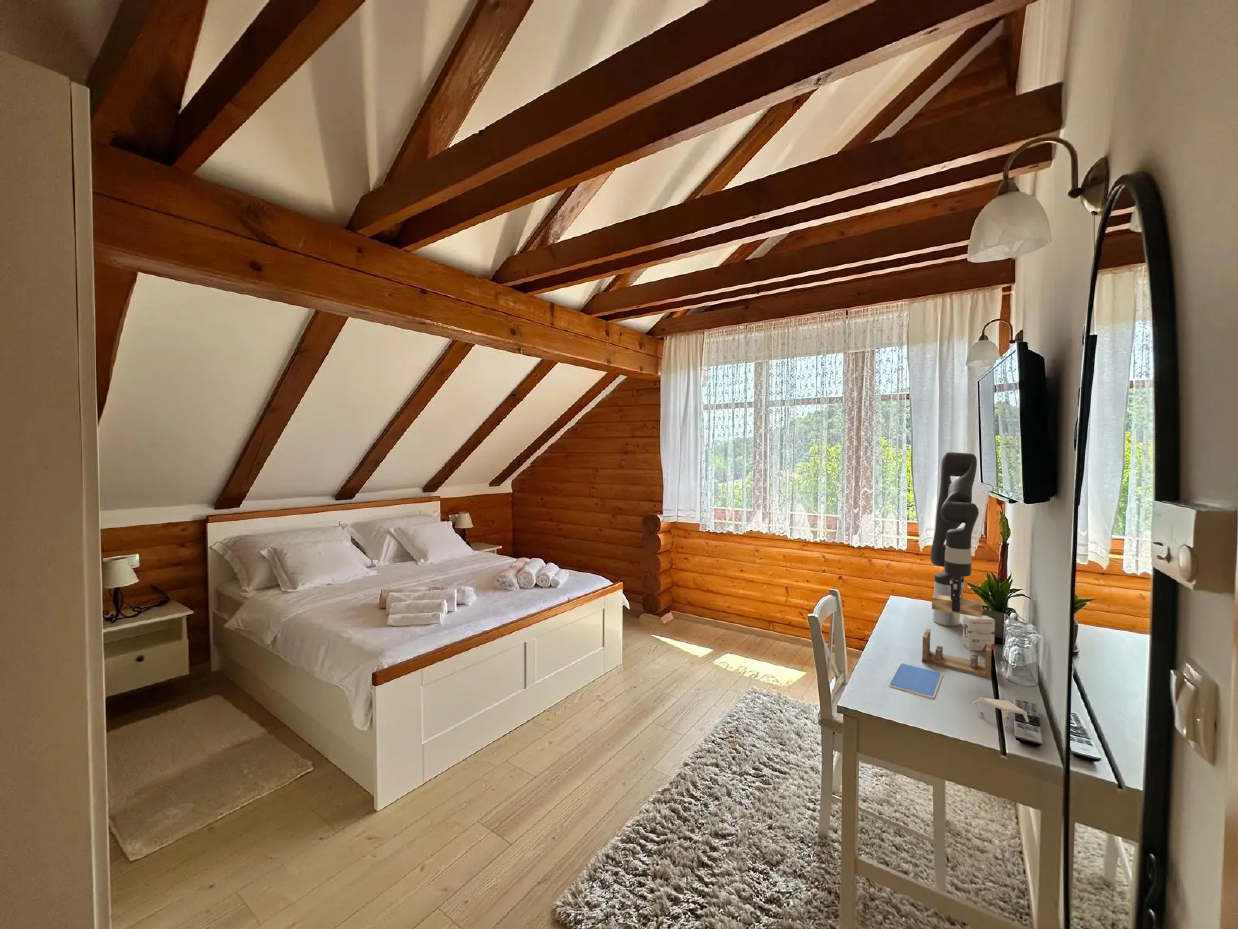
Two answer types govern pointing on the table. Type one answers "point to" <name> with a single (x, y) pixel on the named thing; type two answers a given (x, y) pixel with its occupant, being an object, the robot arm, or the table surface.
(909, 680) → the blue flat rectangular panel
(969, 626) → the ink box
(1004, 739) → the table surface
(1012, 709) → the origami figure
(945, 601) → the golden rectangular block
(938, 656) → the peg stand
